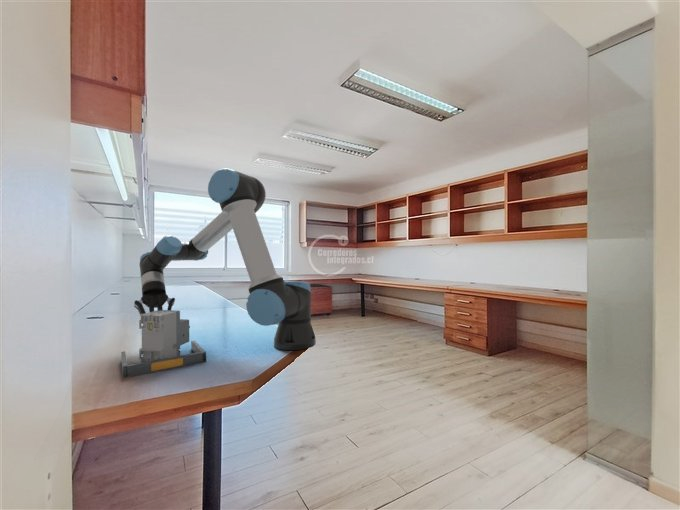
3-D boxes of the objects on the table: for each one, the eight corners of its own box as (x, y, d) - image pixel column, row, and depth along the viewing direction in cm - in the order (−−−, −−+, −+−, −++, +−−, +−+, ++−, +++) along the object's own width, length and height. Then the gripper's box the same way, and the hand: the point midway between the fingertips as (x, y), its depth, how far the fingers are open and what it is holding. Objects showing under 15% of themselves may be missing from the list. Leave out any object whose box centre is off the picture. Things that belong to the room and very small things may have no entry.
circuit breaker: (192, 351, 106) (192, 307, 106) (161, 366, 92) (160, 315, 92) (173, 350, 107) (173, 306, 107) (139, 364, 93) (139, 314, 93)
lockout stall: (206, 361, 95) (206, 352, 95) (123, 378, 83) (122, 367, 83) (194, 348, 109) (194, 340, 109) (121, 361, 96) (121, 351, 96)
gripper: (171, 291, 122) (179, 343, 109) (132, 294, 114) (135, 350, 101) (174, 279, 118) (182, 331, 105) (133, 280, 110) (136, 337, 97)
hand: (159, 340), depth 103 cm, fingers closed
